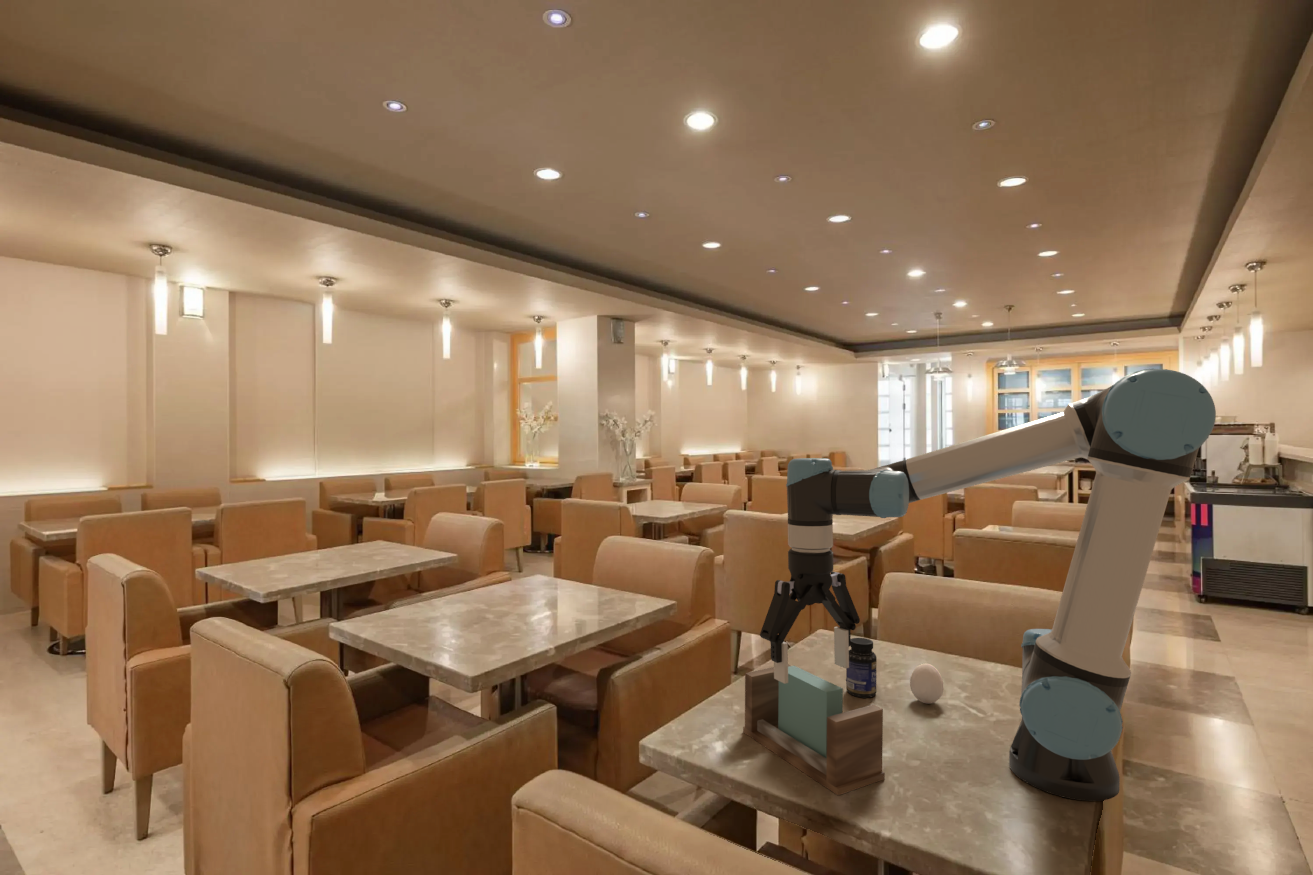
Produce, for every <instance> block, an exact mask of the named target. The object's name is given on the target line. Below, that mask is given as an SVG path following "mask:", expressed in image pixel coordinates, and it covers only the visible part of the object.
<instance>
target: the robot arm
mask: <svg viewBox="0 0 1313 875" xmlns="http://www.w3.org/2000/svg"><path fill="white" fill-rule="evenodd" d="M1216 410H1217V409H1216V405H1215V401H1214V399H1213V397H1212V396H1211V394H1210V393H1209V391H1208V389H1207V388H1206V387H1205V386H1204V385H1203V384H1202V383H1201V382H1200V381H1198V380H1197V379H1195V378H1193V377H1192V376H1190V375H1188V374H1186V373H1184V372H1180V371H1176V370H1173V369H1165V368H1163V369H1162V368H1149V369H1148V368H1145V369H1141V370H1137V371H1134V372H1131V373H1129V374H1127V375H1124V376H1123V377H1122V378H1120V379H1119V380H1117V381H1116V382H1115V383H1113V385H1111V386H1109V387H1107V388H1105V389H1104V390H1101V391H1100V392H1096V393H1095V394H1092V395H1090V396H1088V397H1085V398H1083V399H1082V398H1081V399H1079V400H1077V401H1073V402H1070V403H1068V404H1067V405H1066V408H1065V409H1064V410H1063V411H1061V412H1059V413H1056V414H1052V415H1049V416H1046V417H1042V418H1039V419H1036V420H1032V421H1029V422H1028V421H1027V422H1025V423H1022V424H1019V425H1016V426H1012V427H1009V428H1005V429H1003V430H998V431H995V432H991V433H989V434H986V435H982V436H979V437H976V438H973V439H969V440H965V441H963V442H958V443H956V444H952V445H949V446H946V447H943V448H939V449H936V450H932V451H928V452H927V453H921V454H919V455H916V456H913V457H910V458H906V459H904V460H900V461H896V462H893V463H890V464H886V465H881V466H878V467H875V468H872V469H866V470H865V469H864V470H842V469H839V470H838V469H834V467H833V462H832V460H831V459H830V458H824V457H822V458H820V457H819V458H818V457H810V458H809V457H805V458H804V457H801V458H800V457H799V458H792V459H791V460H790V461H789V462H788V464H787V474H786V475H787V476H786V484H785V487H786V500H787V545H788V546H789V550H788V551H787V560H788V562H787V566H788V567H787V569H788V571H789V572H790V579H789V581H784V580H780V579H777V580H776V581H775V582H774V591H773V593H774V594H773V596H772V600H771V601H770V605H769V608H768V610H767V612H766V613H767V614H766V615H765V619H764V621H763V624H762V628H761V630H760V632H759V637H760V638H762V639H764V640H766V641H769V643H770V659H771V662H773V667H774V679H776V680H778V681H780V682H782V683H784V684H785V683H788V664H789V649H788V648H789V646H788V644H789V643H787V642H785V640H786V638H787V636H788V634H789V633H790V631H791V629H792V627H793V626H794V623H795V622H796V620H797V619H798V616H799V614H800V613H801V612H802V611H803V610H804V609H805V608H806V607H807V606H812V605H814V604H822V605H823V607H824V608H825V609H826V611H827V612H828V614H829V615H830V616H831V617H832V619H833V621H834V622H835V623H836V624H837V625H838V626H834V627H833V640H834V645H833V646H834V648H833V649H834V653H833V654H834V665H836V666H839V667H842V668H844V669H846V668H849V650H850V649H849V647H851V646H850V644H851V639H852V638H851V636H852V634H851V633H852V632H851V631H854V630H856V626H857V625H858V624H859V623H860V621H861V620H860V619H861V618H860V616H859V614H858V612H857V609H856V606H855V603H854V600H853V599H852V597H851V594H850V591H849V589H848V587H847V581H846V580H847V578H846V574H844V573H841V572H837V571H834V552H833V551H832V548H833V547H834V529H833V525H834V524H833V522H834V520H833V517H834V515H835V516H855V517H873V518H874V517H875V518H881V519H886V518H902V517H904V516H906V514H907V512H908V509H909V504H911V503H915V502H918V501H920V500H921V501H922V500H924V499H928V498H932V497H935V496H936V497H937V496H940V495H943V494H947V493H951V492H955V491H959V490H962V489H966V488H971V487H974V486H977V485H981V484H985V483H989V482H992V481H996V480H1000V479H1005V478H1007V477H1010V476H1011V477H1012V476H1015V475H1018V474H1022V473H1026V472H1030V471H1033V470H1035V471H1036V470H1038V469H1041V468H1045V467H1046V468H1047V467H1049V466H1053V465H1057V464H1060V463H1065V462H1068V461H1072V460H1076V459H1080V458H1081V459H1082V458H1083V459H1085V460H1087V461H1089V463H1090V464H1091V466H1092V467H1093V469H1094V470H1095V476H1094V480H1093V484H1092V487H1091V490H1090V494H1089V497H1088V501H1087V504H1086V508H1085V511H1084V515H1083V518H1082V521H1081V522H1082V523H1081V524H1080V529H1079V533H1078V537H1077V540H1076V544H1075V546H1074V551H1073V554H1072V557H1071V558H1072V559H1071V561H1070V564H1069V568H1068V572H1067V575H1066V579H1065V583H1064V587H1063V591H1062V594H1061V596H1060V597H1061V598H1060V601H1059V604H1058V607H1057V611H1056V615H1055V617H1054V622H1053V625H1052V629H1049V628H1030V629H1027V630H1026V631H1024V633H1023V638H1022V643H1021V646H1020V648H1022V664H1021V665H1022V668H1021V669H1022V670H1021V671H1022V674H1021V690H1020V698H1019V705H1018V706H1019V711H1020V715H1021V719H1020V723H1019V726H1018V728H1017V731H1016V733H1015V735H1014V737H1013V740H1012V742H1011V745H1010V748H1009V752H1008V753H1009V755H1008V756H1009V759H1008V761H1009V763H1008V764H1009V768H1010V770H1011V771H1012V772H1013V774H1014V775H1016V776H1017V777H1018V778H1019V779H1020V780H1021V781H1023V782H1025V783H1027V784H1028V785H1030V786H1032V787H1034V788H1036V789H1039V790H1040V791H1043V792H1046V793H1048V794H1052V795H1055V796H1059V797H1063V798H1067V799H1072V800H1077V801H1088V802H1090V801H1091V802H1099V801H1106V800H1107V801H1108V800H1110V799H1113V798H1115V797H1116V796H1118V794H1119V793H1120V778H1121V777H1120V772H1119V769H1118V766H1117V764H1116V760H1115V758H1114V755H1113V753H1112V750H1113V749H1114V748H1115V747H1116V746H1117V745H1118V743H1119V741H1120V738H1121V735H1122V732H1123V727H1124V726H1123V718H1122V714H1121V710H1122V706H1123V704H1124V699H1125V696H1126V692H1127V689H1128V686H1129V682H1130V679H1131V675H1132V671H1131V669H1130V667H1129V666H1128V664H1127V663H1126V662H1125V660H1124V659H1123V653H1124V650H1125V647H1126V643H1127V639H1128V636H1129V632H1130V630H1131V626H1132V623H1133V620H1134V616H1135V612H1136V610H1137V607H1138V602H1139V599H1140V596H1141V593H1142V589H1143V586H1144V584H1145V583H1144V582H1145V579H1146V576H1147V572H1148V569H1149V566H1150V562H1151V560H1152V556H1153V553H1154V549H1155V544H1156V542H1157V539H1158V535H1159V533H1160V529H1161V526H1162V522H1163V519H1164V515H1165V511H1166V509H1167V505H1168V501H1169V499H1170V495H1171V492H1172V490H1173V489H1174V488H1175V487H1177V486H1180V485H1181V484H1183V483H1185V482H1187V481H1190V478H1191V475H1192V472H1193V468H1194V465H1195V463H1196V459H1197V456H1198V453H1199V449H1200V447H1202V445H1204V443H1205V442H1206V441H1207V440H1208V439H1209V438H1210V435H1211V434H1212V432H1213V429H1214V427H1215V422H1216V417H1217V413H1216ZM830 588H832V591H833V593H834V594H833V593H832V591H831V590H830Z"/></svg>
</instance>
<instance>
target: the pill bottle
mask: <svg viewBox="0 0 1313 875" xmlns="http://www.w3.org/2000/svg"><path fill="white" fill-rule="evenodd" d="M849 647H850V649H849V668H845V669H846V670H845V671H846V674H845V678H846V679H845V680H846V682H845V687H846V688H845V689H846V691H847V692H848V694H850V695H851V696H853V697H856V698H857V697H858V698H862V699H864V698H865V699H868V698H872V697H875V696H876V695H877V655H876V653H875V652H874V651H873V649H874V641H873V640H871V639H870V638H869V639H868V638H865V637H853V638H851V644H850V646H849Z"/></svg>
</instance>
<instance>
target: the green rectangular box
mask: <svg viewBox="0 0 1313 875" xmlns="http://www.w3.org/2000/svg"><path fill="white" fill-rule="evenodd" d="M843 692H844V689H843V687H842V686H838V685H837V684H834V683H832V682H830V681H828V680H826V679H823V678H822V677H819V676H818V675H815V674H814V673H811V672H809V671H807V670H804V669H803V668H800V667H799V666H796V665H791V666H789V667H788V683H785V684H784V683H782V682H780V681H779V703H778V729H779V730H781V731H782V732H784V733H786V734H787V735H789V736H791V737H792V738H794V739H795V740H797V741H799V742H800V743H802V744H804V745H805V746H807V747H809V748H810V749H812V750H813V751H815V752H817V753H818V754H820V755H822V756H823V757H825V758H826V759H827V717H829V716H833V715H837V714H840V713H843V711H844V710H843V707H844V706H843V702H844V701H843V699H844V698H843V694H844V693H843Z"/></svg>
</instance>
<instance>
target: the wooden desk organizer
mask: <svg viewBox="0 0 1313 875" xmlns="http://www.w3.org/2000/svg"><path fill="white" fill-rule="evenodd" d="M789 666H792V665H791V664H789V663H788V667H789ZM744 676H745V677H744V726H742V732H743V733H744V734H745V735H747V736H748V737H750V738H751V739H753V740H754V741H756V742H757V743H758V744H760V745H762V746H763V747H765V748H766V749H768V750H769V751H771V752H772V753H774V754H775V755H776V756H778V757H780V758H781V759H783V760H784V761H785V762H787V763H788V764H790V765H792V766H793V767H795V768H797V769H798V770H799V771H801V772H802V773H804V774H805V775H806V776H808V777H810V778H811V779H813V780H814V781H816V782H817V783H818V784H820V785H822V786H823V787H825V788H826V789H828V790H829V791H831V792H832V793H834V795H836V796H841V795H843V794H846V793H850V792H852V791H855V790H857V789H860V788H864V787H866V786H868V785H872V784H876V783H877V782H880V781H883V780H885V776H886V774H885V772H884V771H883V746H884V745H883V741H884V740H883V736H884V735H883V734H884V733H883V728H884V723H883V722H884V721H883V720H884V710H883V708H881V707H880V706H878V705H875V704H870V705H866V706H862V707H859V708H856V709H852V710H849V711H845V712H842V713H840V714H837V715H833V716H829V717H827V759H826V758H825V757H823V756H822V755H820V754H818V753H817V752H815V751H813V750H812V749H810V748H809V747H807V746H805V745H804V744H802V743H800V742H799V741H797V740H795V739H794V738H792V737H791V736H789V735H787V734H786V733H784V732H782V731H781V730H779V729H778V703H779V681H778V680H776V679H774V666H773V667H768V668H763V669H759V670H758V669H757V670H755V671H750V672H745V674H744Z"/></svg>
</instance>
